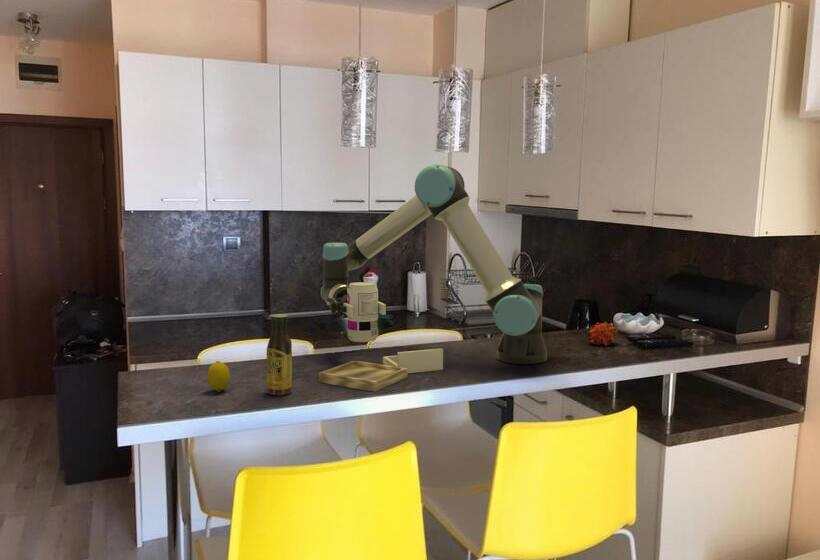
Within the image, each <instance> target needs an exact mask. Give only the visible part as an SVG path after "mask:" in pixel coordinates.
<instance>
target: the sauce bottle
mask: <svg viewBox="0 0 820 560" xmlns="http://www.w3.org/2000/svg"><path fill="white" fill-rule="evenodd" d="M270 321H271V334H270V337H269V340H268V342H267V347H266V391H267V394H268V395H271V396H278V397H280V396H285V395H288V394H290V393H291V392H292V385H293V384H292V383H293V353H292V352H293V350H292V348H293V346H292V345H293V344H292V340H291V339H292V338H290V336H289V334H288V322H289V316H288V314H284V313H279V314H278V313H277V314H273V315H271V320H270Z"/></svg>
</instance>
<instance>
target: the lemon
mask: <svg viewBox="0 0 820 560" xmlns="http://www.w3.org/2000/svg"><path fill="white" fill-rule="evenodd" d="M206 376H207V377H206V379H207V384H208V385H209V387H210V388H212V389H213V390H215V391H217V392H218V393H221V392H222V390H223V389H226V388H227V387H228V385H229V384H230V380H231V372H230V369H229V367H228V366H227V365H226V364H225V363H224V362H221V361H220V360H217V361H216V362H214V363H212V364H211V365H210V366H209V367H208V370H207V374H206ZM220 391H221V392H220Z"/></svg>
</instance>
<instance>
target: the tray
mask: <svg viewBox="0 0 820 560" xmlns="http://www.w3.org/2000/svg"><path fill="white" fill-rule="evenodd" d="M408 375H409V373H408V368H402V367H395V366H388V365H385V364H381V363H375V362H367V361H360V360H351V361H349V362H345V363H343V364H339V365H337V366H334V367H332V368H329V369H325V370H323V371H320V372H318V383H323V384H328V385H335V386H341V387H345V388H352V389H356V390H364V391H368V392H373V393H375V392H378V391H380V390H382V389H384V388H387V387H389V386H391V385H394V384H395V383H398V382H400V381H403V380H405V379H406V378H408V377H409V376H408Z"/></svg>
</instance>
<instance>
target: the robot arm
mask: <svg viewBox="0 0 820 560" xmlns="http://www.w3.org/2000/svg"><path fill="white" fill-rule="evenodd" d="M415 178H416V179H415V180H414V181H415V182H414V192H415V196H413V197H411V198H410V199H409V200H408V201H406V202H405V203H403V204H402V205H401V206H400V207H398V208H397V209H395V210H394V211H393V212H391V213H389V215H388V216H386V217H385V218H383V219H382V220H381V221H379V222H378V223H376V225H374V226H372V227H371V228H370V229H369V230H367V231H366V232H365V233H363V234H362V235H361V236H360V237H357V239H355V240H353V242H351V243H349V244H347V243H345V242H327V243H324V244H323V248H322V263H323V264H322V267H323V285H322V286H321V288H320V297H321V298H322V300H323V302H325V303H326V308H328V309H329V310H330V312H331V313H332V314H334V313H337V311H338V316H343V315H346V316H347V315H348V316H349V317H353V306H351V305H349V304H347V289H348V287H349V272H350V271H356V270H358V269H360V268H362V267H363V266H364V265H365V264H366V262H367V261H369V260H370V259H371V258H373V257H374V256H376V255H377V254H378V253H380V252H382V251H383V250H384V249H385V248H387V247H388V246H389V245H391V244H392V243H394V242H395V241H396V240H398V239H400V238H401V237H402V236H404V234H405V235H406V233H408V232H409V231H410V230H412V229H413V228H415V227H416V226H417V225H419V224H420V223H421V222H423V221H424V220H425V219H427V218H429V217H430V216H433V218H434V219H435V220H436V221H440V222H442V223H443V224H444V225H445V227H446V229H447V231H448V232H449V234H450V235H451V238H452V239H453V240H454V242H455V243H456V245H457V247H458V248H459V250H460V252H461V253H462V255H463V257H464V258H465V260H466V261H467V263H468V265H469V266H470V268H471V269H472V271H473V273H474V274H475V276H476V277H477V279H478V281H479V282H480V284H481V286H482V287H483V289H484V291H485V292H486V296H485V302H486V304H487V305H488V307H489V309H490V310H491V312H492V316H493V320H494V323H495V326H496V327H497V329H499V330H500V331H501V332H502V334H501V338H500V341H499V344H498V347H497V349H496V358H497V359H496V360H499V361H501V362H503V363H508V364H514V365H515V364H516V365H534V364H535V365H536V364H542V363H544V362H547V361H548V352H547V348H546V345H545V342H544V338H543V334H542V333H543V332H542V331H543V329H542V328H543V327H542V325H543V297H544V292H543V287H542V285H541V284H532V283H524V282H523V281H522V279H521V278H517V277H514V276H513V275H512V273H511V271H510V270H509V269H508V267H507V266H506V263H505V262H504V261H503V259H502V258H501V256H500V254H499V252H498V250H496V248H495V246H494V244H493V243H492V241H491V240H490V238H489V236H488V235H487V233H486V231H485V230H484V228H483V226H482V225H481V224H480V222H479V220H478V219H477V217H476V216H475V214H474V212H473V210H472V209H471V207H470V206H469V202H470V199H471V197H470V195H469V194H468V192H467V190H466V189H465V187H466V186H465V180H464V177H463V176H462V174H461V173H460V171H458V170H457V169H455V168H454V167H451V166H447V165H443V164H440V163H439V164H437V163H435V164H432V165H431V164H430V165H429V166H428V165H427V166H426V167H424V168H423V169H422V170H420V171H419V173H418V174H417V176H416V177H415ZM387 302H388V301H387V300H386V299H384V298H383V299H382V297H378V314H380V315H382V316H384V315H385V316H386V313H387V312H386V311H387Z"/></svg>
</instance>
